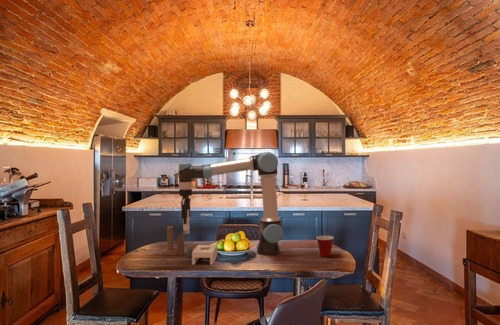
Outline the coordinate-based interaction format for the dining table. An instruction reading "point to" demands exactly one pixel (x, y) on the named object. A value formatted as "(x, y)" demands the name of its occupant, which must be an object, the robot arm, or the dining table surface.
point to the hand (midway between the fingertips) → (186, 228)
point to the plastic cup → (325, 245)
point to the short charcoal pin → (189, 250)
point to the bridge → (204, 253)
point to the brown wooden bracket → (179, 241)
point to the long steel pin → (188, 224)
